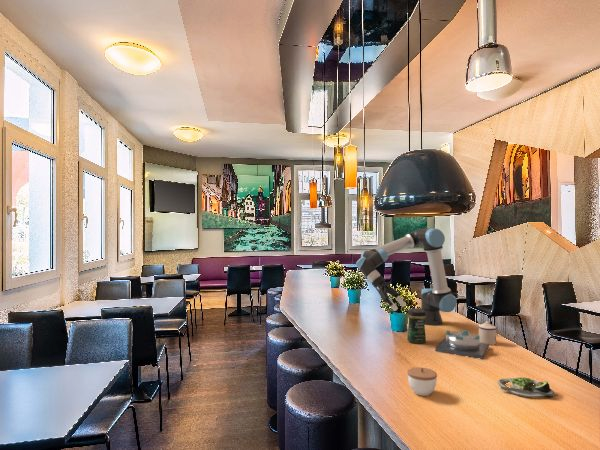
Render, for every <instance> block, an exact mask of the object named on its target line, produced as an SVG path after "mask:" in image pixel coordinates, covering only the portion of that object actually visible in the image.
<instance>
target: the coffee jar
mask: <svg viewBox="0 0 600 450" xmlns="http://www.w3.org/2000/svg"><path fill="white" fill-rule="evenodd" d="M407 317H408V329H407V338H406V339H407V341H408V342H409V343H412V344H424V343H426V341H427V339H426V338H427V337H426V328H425V327H426V326H425V325H426V324H425V318H426V312H425V310H424V309H422V308H419V307H418V308H413V307H412V308H408V309H407Z"/></svg>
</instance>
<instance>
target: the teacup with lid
mask: <svg viewBox="0 0 600 450" xmlns="http://www.w3.org/2000/svg"><path fill="white" fill-rule="evenodd" d="M477 327H478V335H480V343H485V344H489V346H494V345H493V344H495V345H496V344H497V326H495V325H493V324H491V323H490V321H484V322H483V323H481V324H478V326H477Z"/></svg>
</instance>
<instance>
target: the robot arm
mask: <svg viewBox="0 0 600 450" xmlns="http://www.w3.org/2000/svg"><path fill="white" fill-rule="evenodd" d="M445 241H446V238H445V234H444V233H443V232H442V230H441V229H438V228H434V227H433V228H430V227H429V228H419V229H416V230H414V231H411V232H409V233H407V234H405V235H404V236H403V237H400V238H399V239H395V240H393V241H390V242H387V243H385V244H382V245H379V246H378V247H375V248H373V249H370V250H363V251H362V253H361V255H360V258H359V259H358V260H357V261H356V263H355V266H356V267H357V268H358V271H360V272H361V273H362V274H363V276H364V277H365V278H366V279H367V281H368V282H370V283H371V285H372V286H373V287H374V288H375V289H376V291H377V293H378V294H379V296H380V297H381V299H382V301H383V303H385V304H386V303H387V305H389V307H390V308H391V309H392V310H393V311H394V312H396V311H397V310H398V309H399V307H398V306H397V305H396V304H395V302H393V300H392V299H391V298H389V295H391V297H394V298H395V300H396V301H397V302H398V304H399V305H400V306H401V307H402V308H404V307H406V305H407V303H406V302H405V301H404V300H403V298H402V297H400V295H401V294H400V293H399V292H398V291H397V290H395V288H393V287H392V286H391V285H389V283H385V282H386V280H385V278H384V277H383V276H382V275H381V273H380V272H379V271H378V270H377V269H376V268H378V267H379V266H381V265H382V264H383V263H385V262H386V261H387V260H388V259H389V256H391V255H393V254H395V253H398V252H401V251H403V250H405V249H408V248H409V249H410V248H411V249H413V248H415V247H423V252H425V253H426V256H427V261H428V266H429V271H430V276H431V281H432V287H433V288H422V289H421V294H420V297H421V303H420V304H421V306H420V307H421V309H424V310H425V312H426V318H425V325H428V326H440V325H443V319H442V318H443V317H442V314H441V312H442V313H450V312H453V311H454V310H455V308H456V307H457V302H458V301H457V297H456V296H455V295H453V294H452V290H451V288H450V287H448V282H447V281H448V280H447V276H446V271H445V265H444V260H443V256H442V250H443V249H444V247H443V245H444V243H445Z"/></svg>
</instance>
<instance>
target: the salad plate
mask: <svg viewBox="0 0 600 450" xmlns="http://www.w3.org/2000/svg"><path fill="white" fill-rule="evenodd" d="M508 382H510V384H509V385H510V388H509V386H508V385H507V386H508V387H507V386H506V385H505V384H506V383H508ZM497 384H498V385H499V386H500V390H502V391H506V392H508V393H509V394H513V395H516V396H519V395H520V396H519V397H523V396H524V398H528V397H547V398H552V397H556V396H558V395H557V394H555V391H554V390H553V389H552V388H550V383H549V382H548V381H538V380H536V379H532V378H529V377H524V376H523V377H522V376H521V377H520V376H519V377H511V378H507V377H506V378H499V379H498V381H497ZM533 384H534V385H533Z"/></svg>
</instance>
